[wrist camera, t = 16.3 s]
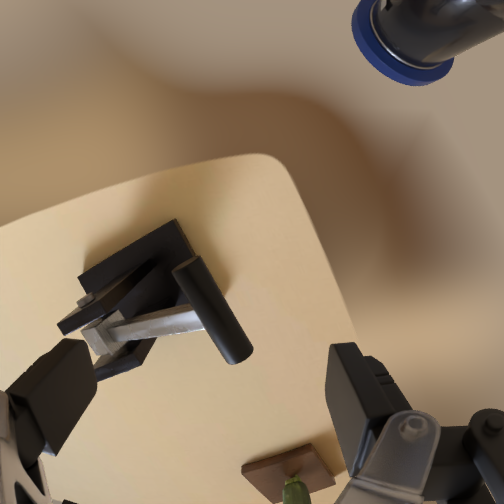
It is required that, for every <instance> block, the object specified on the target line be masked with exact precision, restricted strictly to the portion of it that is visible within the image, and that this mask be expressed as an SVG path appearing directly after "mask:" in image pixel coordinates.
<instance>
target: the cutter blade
mask: <svg viewBox="0 0 504 504" xmlns="http://www.w3.org/2000/svg"><path fill="white" fill-rule="evenodd" d="M172 274H173V276H174V278H175V280H176V281H177V283H178V285H179V286H180V288H181V290H182V291H183V293H184V295H185V297H186V298H187V300H188V302H189V303H187V304H183V305H179V306H175V307H172V308H168V309H164V310H160V311H156V312H152V313H148V314H144V315H140V316H136V317H132V318H128V319H124V317H123V316H122V314H121V312H120V311H119V309H117V310H114V311H111V312H108V313H107V314H106V315H104V316H102V317H100V318H98V319H96V320H94V321H92V322H91V323H90V324H88V325H87V326H86V327H84V328H83V329H82V330H81V333H82V335H83V336H84V338H85V339H86V341H87V342H88V344H89V345H90V347H91V348H92V349H93V351H94V352H95V354H96V355H113V354H114V353H115V352H117V351H118V350H119V349H120V348H121V347H122V346H123V345H125V344H126V343H127V342H128V341H129V340H137V339H145V338H152V337H159V336H166V335H173V334H180V333H186V332H192V331H199V330H205V329H206V331H207V332H208V334H209V336H210V337H211V339H212V340H213V342H214V343H215V345H216V347H217V348H218V350H219V351H220V353H221V354H222V356H223V357H224V359H225V360H226V362H227V363H228V364H231V365H233V364H238V363H240V362H242V361H244V360H246V359H247V358H248V357H249V356H250V355H251V354H252V353H253V346H252V344H251V342H250V341H249V339H248V337H247V336H246V334H245V332H244V331H243V329H242V327H241V326H240V324H239V322H238V321H237V319H236V317H235V315H234V314H233V312H232V310H231V309H230V307H229V305H228V303H227V302H226V300H225V298H224V297H223V295H222V293H221V291H220V290H219V288H218V286H217V284H216V283H215V281H214V279H213V277H212V275H211V274H210V272H209V270H208V268H207V267H206V265H205V263H204V261H203V259H202V258H201V256H195V257H193V258H191V259H189V260H187V261H185V262H183V263H182V264H180V265H178V266H177V267H176V268H174V269H173V270H172Z"/></svg>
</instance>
